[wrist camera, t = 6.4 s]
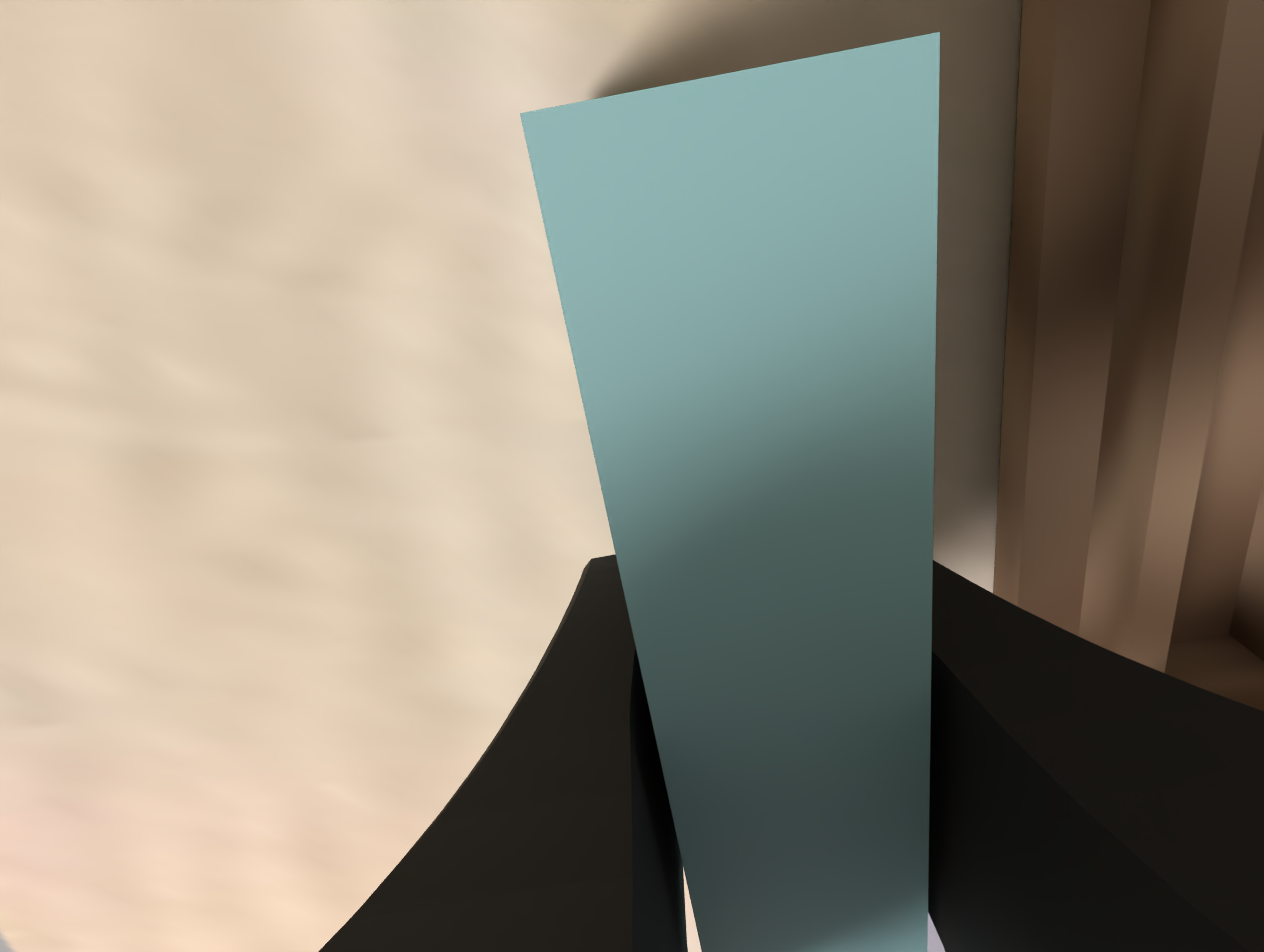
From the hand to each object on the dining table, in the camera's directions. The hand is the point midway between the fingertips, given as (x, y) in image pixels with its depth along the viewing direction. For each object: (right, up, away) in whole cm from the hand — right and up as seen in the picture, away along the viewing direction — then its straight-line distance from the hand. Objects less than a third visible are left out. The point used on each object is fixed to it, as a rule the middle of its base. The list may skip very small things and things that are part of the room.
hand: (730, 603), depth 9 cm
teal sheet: (0, +2, +5) cm, 6 cm away
